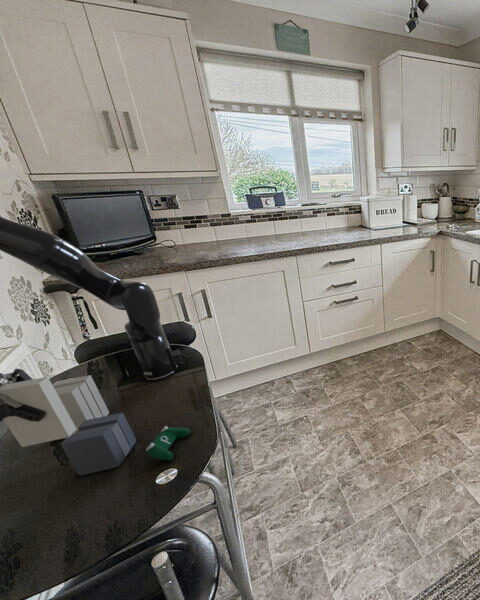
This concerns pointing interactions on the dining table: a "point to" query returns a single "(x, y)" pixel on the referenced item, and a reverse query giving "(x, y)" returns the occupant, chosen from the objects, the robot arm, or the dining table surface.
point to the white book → (42, 398)
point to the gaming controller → (165, 442)
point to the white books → (81, 399)
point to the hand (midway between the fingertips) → (48, 411)
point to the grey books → (99, 444)
